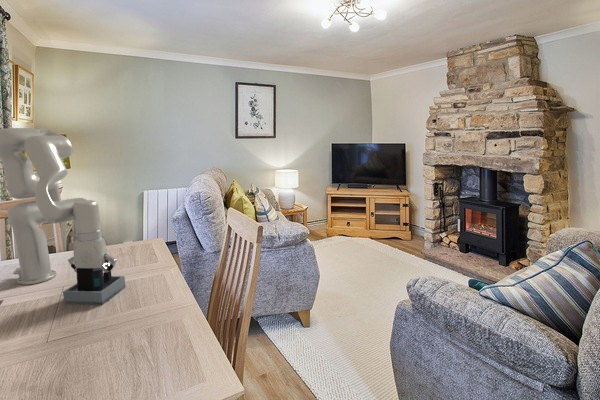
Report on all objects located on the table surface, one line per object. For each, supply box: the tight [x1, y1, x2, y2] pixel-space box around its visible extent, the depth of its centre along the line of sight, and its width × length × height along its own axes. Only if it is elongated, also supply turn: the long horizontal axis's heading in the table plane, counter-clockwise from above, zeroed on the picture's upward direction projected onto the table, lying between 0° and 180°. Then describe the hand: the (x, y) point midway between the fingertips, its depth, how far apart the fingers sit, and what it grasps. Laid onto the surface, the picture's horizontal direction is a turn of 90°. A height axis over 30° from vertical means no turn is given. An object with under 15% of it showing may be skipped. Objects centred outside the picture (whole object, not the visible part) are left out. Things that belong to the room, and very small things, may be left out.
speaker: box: [76, 268, 104, 291], centre depth 118 cm, size 8×6×10 cm
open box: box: [62, 275, 127, 306], centre depth 119 cm, size 14×14×4 cm
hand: (95, 281), depth 119 cm, fingers open, 9 cm apart
